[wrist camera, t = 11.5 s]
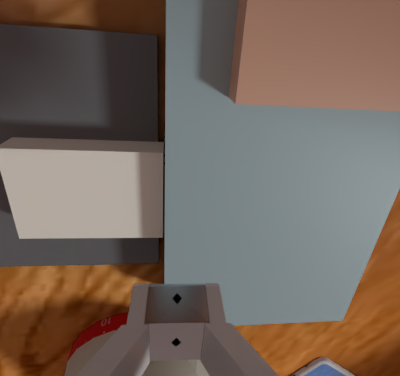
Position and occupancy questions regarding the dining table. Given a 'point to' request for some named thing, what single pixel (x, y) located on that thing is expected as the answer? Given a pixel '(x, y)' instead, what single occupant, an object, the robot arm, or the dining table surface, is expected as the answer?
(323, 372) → the tablet computer
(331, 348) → the dining table surface
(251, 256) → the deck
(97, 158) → the cream card
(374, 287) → the dining table surface
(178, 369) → the kitchen timer
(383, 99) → the terracotta card
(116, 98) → the mat
